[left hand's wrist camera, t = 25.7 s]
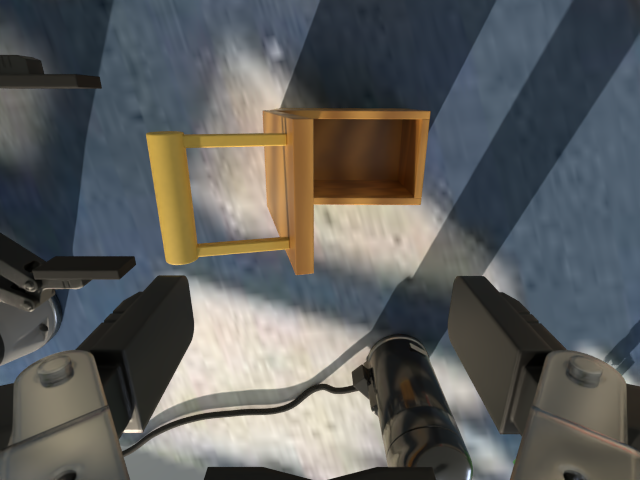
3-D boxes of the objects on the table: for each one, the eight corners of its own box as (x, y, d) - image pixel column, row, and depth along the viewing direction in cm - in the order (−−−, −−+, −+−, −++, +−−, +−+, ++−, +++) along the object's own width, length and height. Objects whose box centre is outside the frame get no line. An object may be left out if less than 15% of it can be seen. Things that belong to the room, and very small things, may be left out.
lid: (313, 118, 21) (134, 119, 18) (313, 273, 24) (162, 289, 22) (274, 110, 36) (174, 110, 34) (278, 205, 39) (187, 211, 37)
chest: (408, 108, 46) (430, 111, 36) (401, 185, 49) (421, 205, 40) (279, 108, 46) (269, 110, 36) (282, 184, 49) (273, 204, 40)
